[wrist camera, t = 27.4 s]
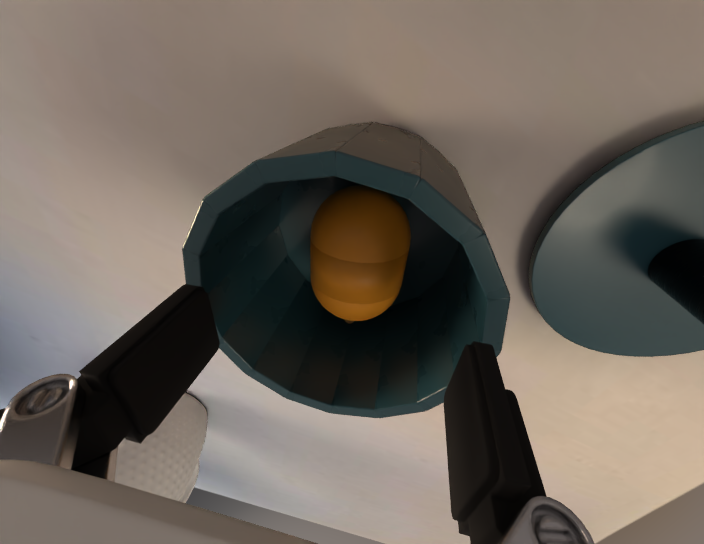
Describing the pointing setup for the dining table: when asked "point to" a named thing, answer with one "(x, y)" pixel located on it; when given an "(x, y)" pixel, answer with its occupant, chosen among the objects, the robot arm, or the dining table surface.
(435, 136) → the dining table surface
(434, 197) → the pot
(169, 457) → the mug
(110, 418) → the robot arm
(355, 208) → the orange ribbed oval piece
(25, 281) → the dining table surface
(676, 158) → the lid
